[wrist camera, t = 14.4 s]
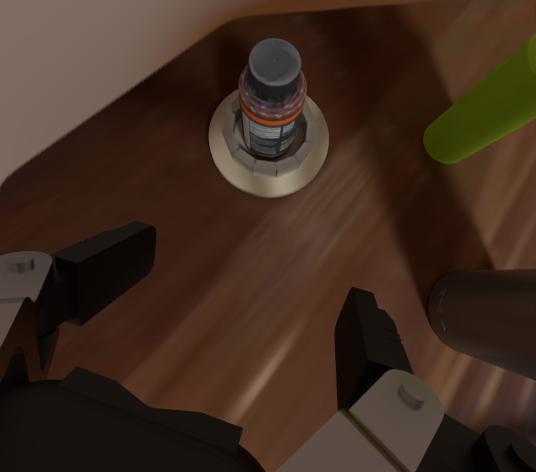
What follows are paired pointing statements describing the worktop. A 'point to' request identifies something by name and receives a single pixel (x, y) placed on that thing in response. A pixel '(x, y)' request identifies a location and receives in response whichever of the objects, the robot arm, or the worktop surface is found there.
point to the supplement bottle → (271, 98)
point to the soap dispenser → (487, 109)
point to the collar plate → (265, 170)
